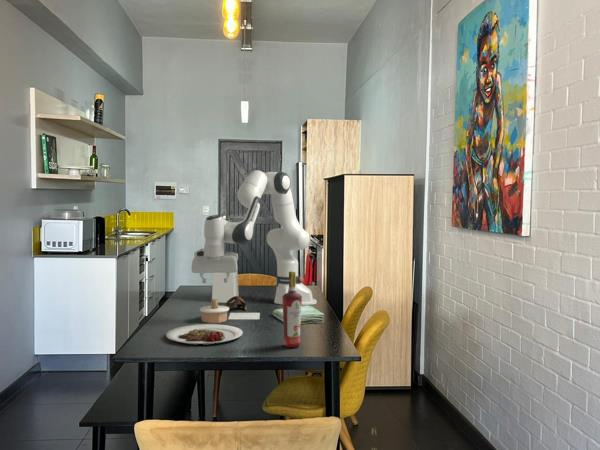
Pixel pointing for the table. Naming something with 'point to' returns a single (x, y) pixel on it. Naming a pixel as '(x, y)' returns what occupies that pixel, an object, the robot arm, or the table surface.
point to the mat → (244, 316)
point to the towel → (304, 315)
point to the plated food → (204, 334)
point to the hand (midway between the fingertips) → (214, 282)
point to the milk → (225, 286)
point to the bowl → (214, 317)
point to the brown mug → (236, 302)
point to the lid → (214, 307)
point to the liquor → (292, 314)
